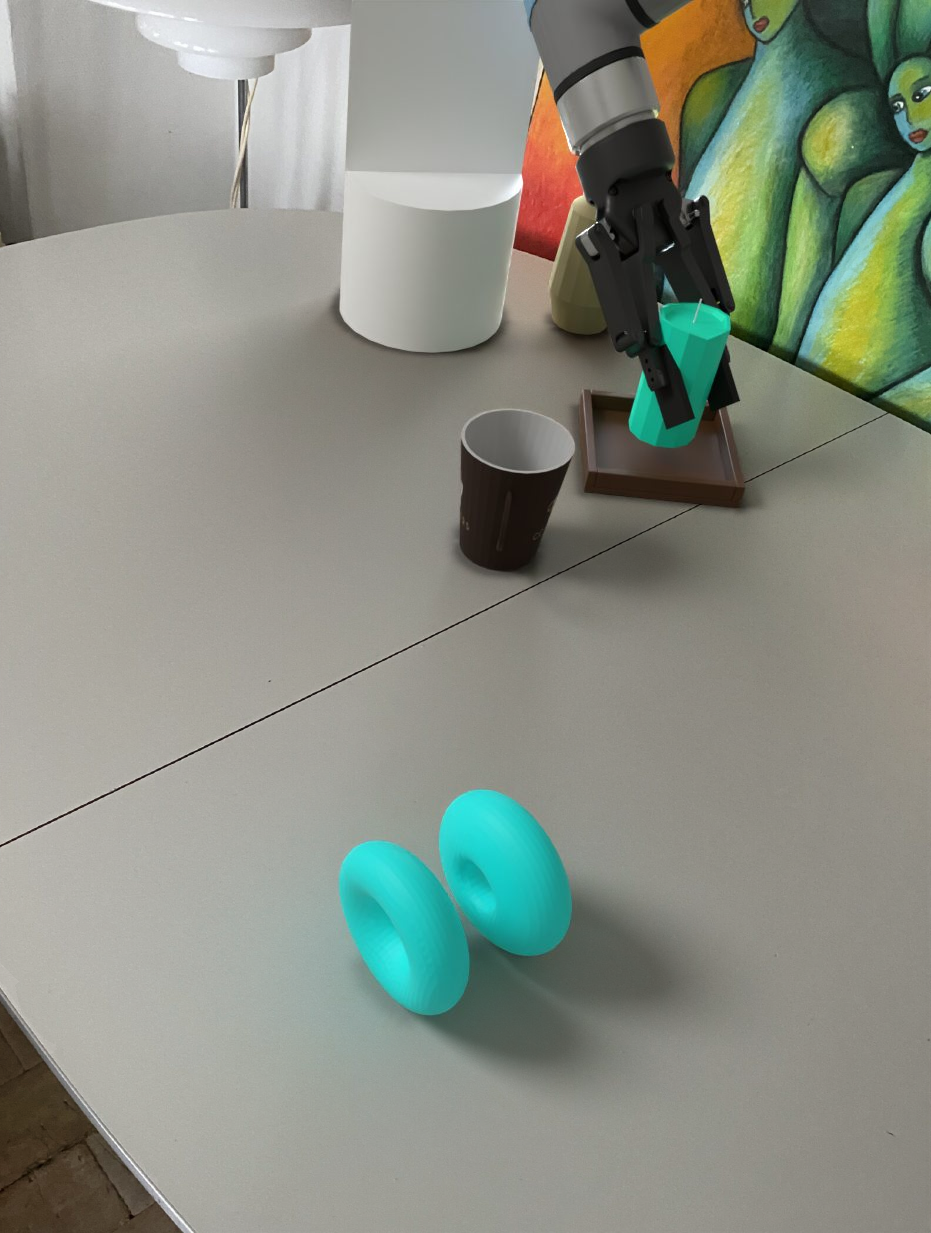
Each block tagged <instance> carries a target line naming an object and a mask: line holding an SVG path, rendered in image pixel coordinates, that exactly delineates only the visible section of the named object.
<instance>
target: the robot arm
mask: <svg viewBox="0 0 931 1233" xmlns="http://www.w3.org/2000/svg"><path fill="white" fill-rule="evenodd" d="M693 1H694V0H523V2H524V5H525V9H526V13H527V23H528V26H529V28H530V31H531V32H532V34H533V37H534V40H535V43H536V46H537V49H538V52H539V55H540V60H541V64H542V67H543V70H544V71H545V72H544V73H545V75H546V78H547V81H548V84H549V87H550V90H551V93H552V96H553V101H554V103H555V106H556V110H557V113H558V116H559V119H560V121H561V126H562V128H563V131H564V132H563V133H564V134H565V137H566V140H567V145H568V147H569V150H570V153H571V154H572V155H573V156H577V157H578V158H577V160H576V163H575V171H576V173H577V177H578V180H579V183H580V186H581V189H582V192H584V194H583V195H584V196H585V199H586V201H587V203H588V204H589V205H591V206H594V207H596V224H594V225H593V226H591V227H590V228H589V229H587V230H586V231H584V232H583V233H582V234H580V235H579V236H577V237H576V239H575V245H576V247H577V249H578V251H579V252H580V254H581V255H582V257H583V259H584V260H585V262H586V263H587V265H588V268H589V271H590V274H591V277H592V280H593V284H594V287H595V290H596V293H597V296H598V299H599V302H600V306H601V309H602V312H603V315H604V318H605V321H606V325H607V327H606V328H607V331H608V334H609V337H610V340H611V343H612V347H613V349H614V351H615V352H616V353H618V354H622V353H625V355H626V357H628V358H629V359H635V358H637V357H638V360H639V362H640V366H641V368H642V371H643V372H644V375H645V379H646V382H647V385H648V387H649V389H650V390H651V392H652V391H654V392H655V395H656V399H657V402H658V405H659V408H660V411H661V414H662V417H663V421H664V424H665V427H666V430H667V429H670V428H672V427H675V426H677V425H680V424H683V423H685V422H688V421H690V420H693V419H695V416H694V413H693V409H692V406H691V403H690V400H689V397H688V393H687V390H686V387H685V384H684V381H683V377H682V374H681V371H680V369H679V367H678V366H677V364H676V362H675V360H674V358H673V356H672V354H671V352H670V350H669V348H668V346H667V344H664V345H662V346H660V344H661V342H662V334H661V326H660V318H659V310H660V309H659V304H658V296H657V287H656V280H655V271H654V265H655V266H658V267H660V269H661V270H662V273H663V275H664V277H665V279H666V281H667V282H668V284H669V286H670V288H671V290H672V292H673V294H674V296H675V298H676V300H677V303H699V302H700V299H702V301H701V303H702V304H705V305H708V306H711V307H714V308H717V309H719V310H721V311H722V312H724V313H725V314H727V315H729V316H730V317H731V313H733V312H734V311H735V310H736V302H735V299H734V296H733V292H732V289H731V286H730V282H729V279H728V276H727V272H726V270H725V266H724V262H723V260H722V256H721V253H720V250H719V247H718V243H717V240H716V237H715V234H714V230H713V227H712V222H711V208H710V207H711V206H710V199H709V198H708V197H707V196H706V195H705V194H701V195H700V196H698V197H696V198H695V199H690V198H685V197H683V196H682V193H681V191H680V190H679V188H678V187H677V186H676V184H675V182H674V181H673V180H674V179H673V178H672V175H673V174H672V173H673V169H674V167H675V164H676V156H675V152H674V148H673V145H672V142H671V138H670V136H669V133H668V132H669V131H668V129H667V128H668V127H667V125H666V123H665V121H664V120H662V119H660V118H658V116H659V114H660V113H661V103H660V99H659V97H658V94H657V90H656V88H655V87H656V86H655V84H654V81H653V78H652V75H651V73H650V69H649V66H648V62H647V59H646V56H645V54H644V50H643V49H642V48H643V47H642V42H641V36H642V35H643V34H644V33H646V32H647V31H649V30H651V29H653V28H654V27H656V26H657V25H660V23H661V22H662V21H663V20H665V19H666V18H668V17H669V16H671V15H673V14H674V13H676V12H677V11H679V10H681V9H682V8H684V7H685V6H686V5H688V4H690V3H691V2H693ZM730 363H731V354H730V351H729V348H728V345H727V344H726V345H725V348H724V351H723V354H722V357H721V360H720V363H719V366H718V369H717V372H716V375H715V378H714V381H713V383H712V386H711V389H710V392H709V395H708V398H707V401H706V402H708V404H709V407H710V410H711V412H714V411H716V410H719V409H721V408H724V407H729V406H731V405H734V404H736V403H739V402H741V399H740V395H739V393H738V389H737V385H736V382H735V379H734V375H733V372H732V370H731V366H730Z"/></svg>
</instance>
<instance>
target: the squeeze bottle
mask: <svg viewBox="0 0 931 1233" xmlns="http://www.w3.org/2000/svg"><path fill="white" fill-rule="evenodd" d="M582 192H583V191H582ZM594 224H596V207H594V206H591V205H589V204H588V203H587V201H586V199H585V196H584V192H583V194H582V195H580V196H577V197H576V198H575V199H574V200H573V202H572V203H571V205H570V208H569V211H568V215H567V218H566V222H565V225H564V228H563V232H562V235H561V238H560V242H559V245H558V248H557V253H556V256H555V259H554V262H553V266H552V268H551V269H552V270H551V272H550V275H549V279H548V282H547V285H548V294H549V301H550V307H551V308H550V309H551V317H552V321H553V323H554V324H555V325H556V326H557V327H558V328H560V329H562V330H564V331H566V332H569V333H572V334H577V335H595V334H599V333H601V332H603V331H605V330H606V328H607V325H606V321H605V318H604V315H603V312H602V309H601V306H600V302H599V299H598V296H597V293H596V290H595V287H594V284H593V280H592V277H591V274H590V271H589V268H588V265H587V263H586V262H585V260H584V259H583V257H582V255H581V254H580V252H579V251H578V249H577V247H576V245H575V239H576V237H577V236H579V235H580V234H582V233H583V232H584V231H586V230H587V229H589V228H590V227H591V226H593V225H594Z"/></svg>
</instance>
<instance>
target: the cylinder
mask: <svg viewBox="0 0 931 1233" xmlns="http://www.w3.org/2000/svg"><path fill="white" fill-rule="evenodd" d="M350 10H351V11H350V31H349V32H350V36H349V38H350V39H349V60H348V61H349V62H348V63H349V64H348V66H349V67H348V84H347V85H348V88H347V110H346V111H347V112H346V135H345V136H346V138H345V159H344V160H345V161H344V162H345V163H344V167H345V168H344V187H343V190H344V191H343V214H342V238H341V263H340V286H339V287H340V289H339V290H340V291H339V313H340V316H341V317H342V319H343V321H344V322H345V323H346V324H347V325H348V327H350V328H351V329H352V330H353V331H354V332H355V333H357V334H359V335H360V336H362V337H364V338H365V339H367V340H369V341H371V342H373V343H376V344H379V345H382V346H385V347H388V348H393V349H398V350H403V351H407V352H417V353H431V354H432V353H447V352H456V351H460V350H465V349H469V348H473V347H475V346H477V345H479V344H481V343H484V342H486V341H488V340H489V339H490V338H492V336H494V335H495V334H496V333H497V332H498V330H499V327H500V325H501V323H502V319H503V313H504V305H505V299H506V294H507V293H506V292H507V286H508V281H509V276H510V275H509V274H510V269H511V268H510V267H511V262H512V255H513V250H514V243H515V237H516V232H517V231H516V230H517V225H518V219H519V212H520V206H521V199H522V193H523V187H524V180H523V174H522V172H523V167H524V166H523V165H524V160H525V154H526V148H527V141H528V135H529V129H530V123H531V116H532V111H533V110H532V108H533V103H534V97H535V90H536V84H537V78H538V71H539V65H540V60H541V58H540V55H539V52H538V49H537V46H536V43H535V40H534V37H533V34H532V32H531V31H530V28H529V26H528V23H527V13H526V9H525V5H524V2H523V0H351V8H350Z"/></svg>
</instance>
